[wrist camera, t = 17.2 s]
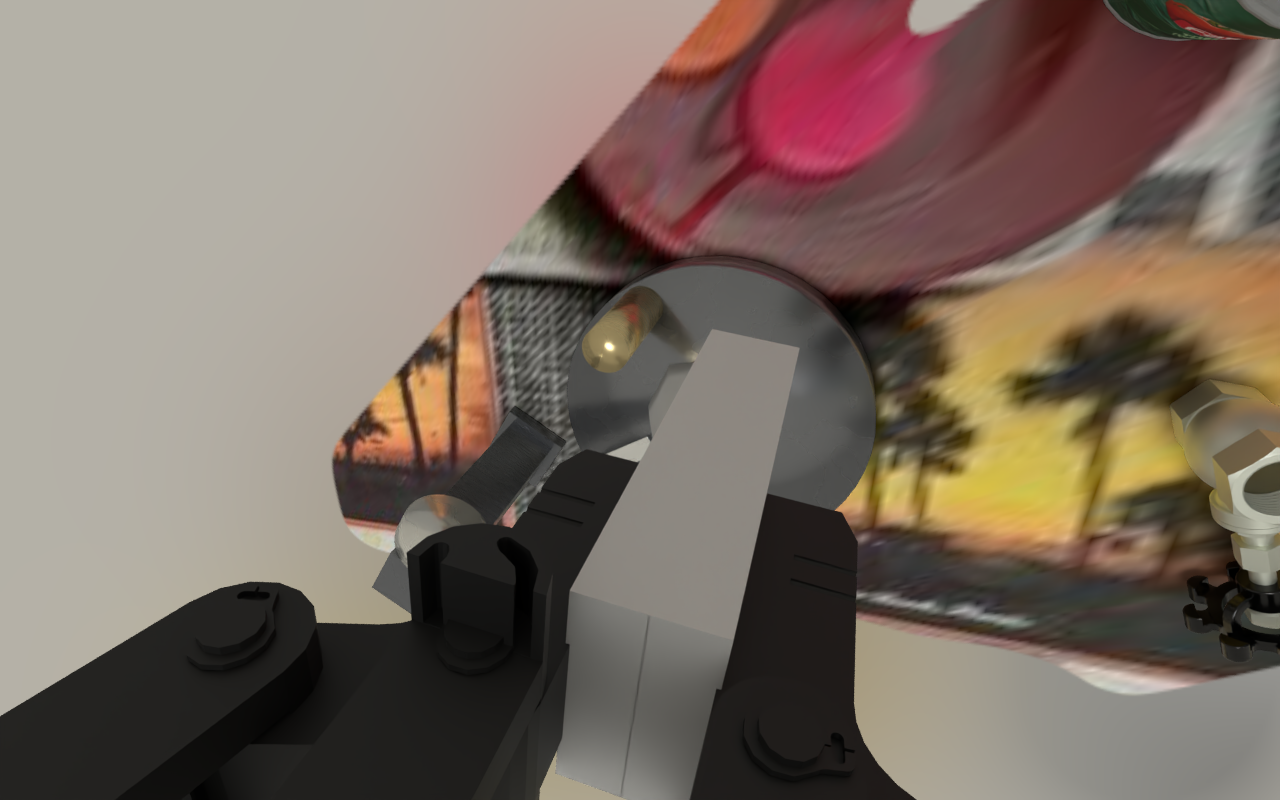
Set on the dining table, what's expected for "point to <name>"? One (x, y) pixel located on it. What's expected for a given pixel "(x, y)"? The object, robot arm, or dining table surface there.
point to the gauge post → (473, 495)
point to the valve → (1236, 509)
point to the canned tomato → (1199, 18)
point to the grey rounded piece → (745, 305)
